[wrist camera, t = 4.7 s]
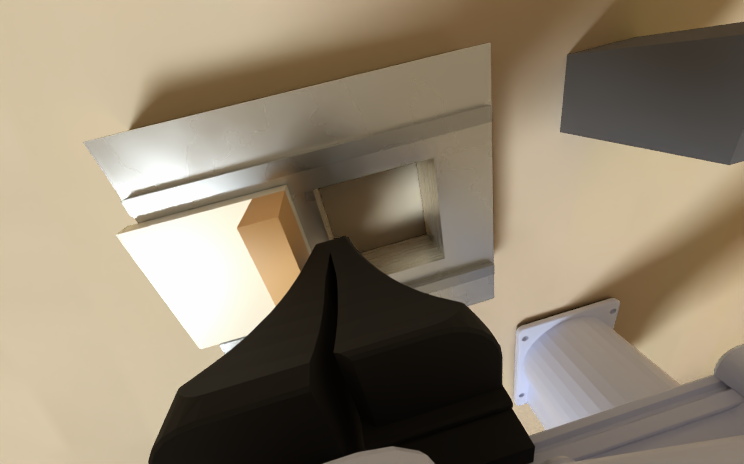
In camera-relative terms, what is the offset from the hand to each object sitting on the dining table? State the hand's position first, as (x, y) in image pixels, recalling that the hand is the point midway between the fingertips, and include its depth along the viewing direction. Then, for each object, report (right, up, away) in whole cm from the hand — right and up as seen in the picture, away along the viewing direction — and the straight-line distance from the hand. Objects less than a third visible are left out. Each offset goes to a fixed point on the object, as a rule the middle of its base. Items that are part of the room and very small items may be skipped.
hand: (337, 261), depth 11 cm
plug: (+12, +8, +3) cm, 15 cm away
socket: (0, +2, +4) cm, 4 cm away
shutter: (-4, 0, +1) cm, 4 cm away
